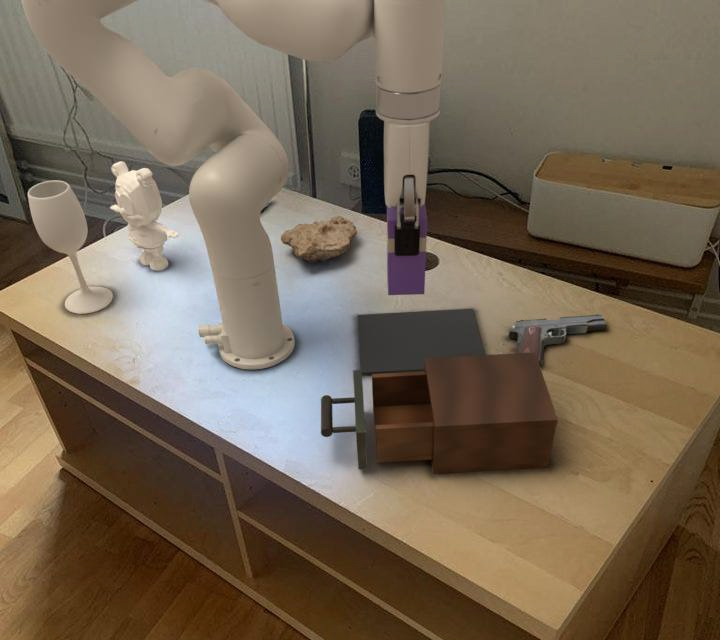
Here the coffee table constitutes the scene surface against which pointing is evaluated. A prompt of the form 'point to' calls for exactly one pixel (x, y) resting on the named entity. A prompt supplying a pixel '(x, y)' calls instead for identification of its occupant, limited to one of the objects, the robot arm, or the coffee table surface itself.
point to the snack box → (406, 259)
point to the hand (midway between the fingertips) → (405, 242)
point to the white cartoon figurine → (142, 213)
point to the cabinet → (489, 413)
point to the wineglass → (65, 237)
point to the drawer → (389, 417)
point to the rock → (320, 239)
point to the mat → (415, 339)
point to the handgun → (551, 332)
